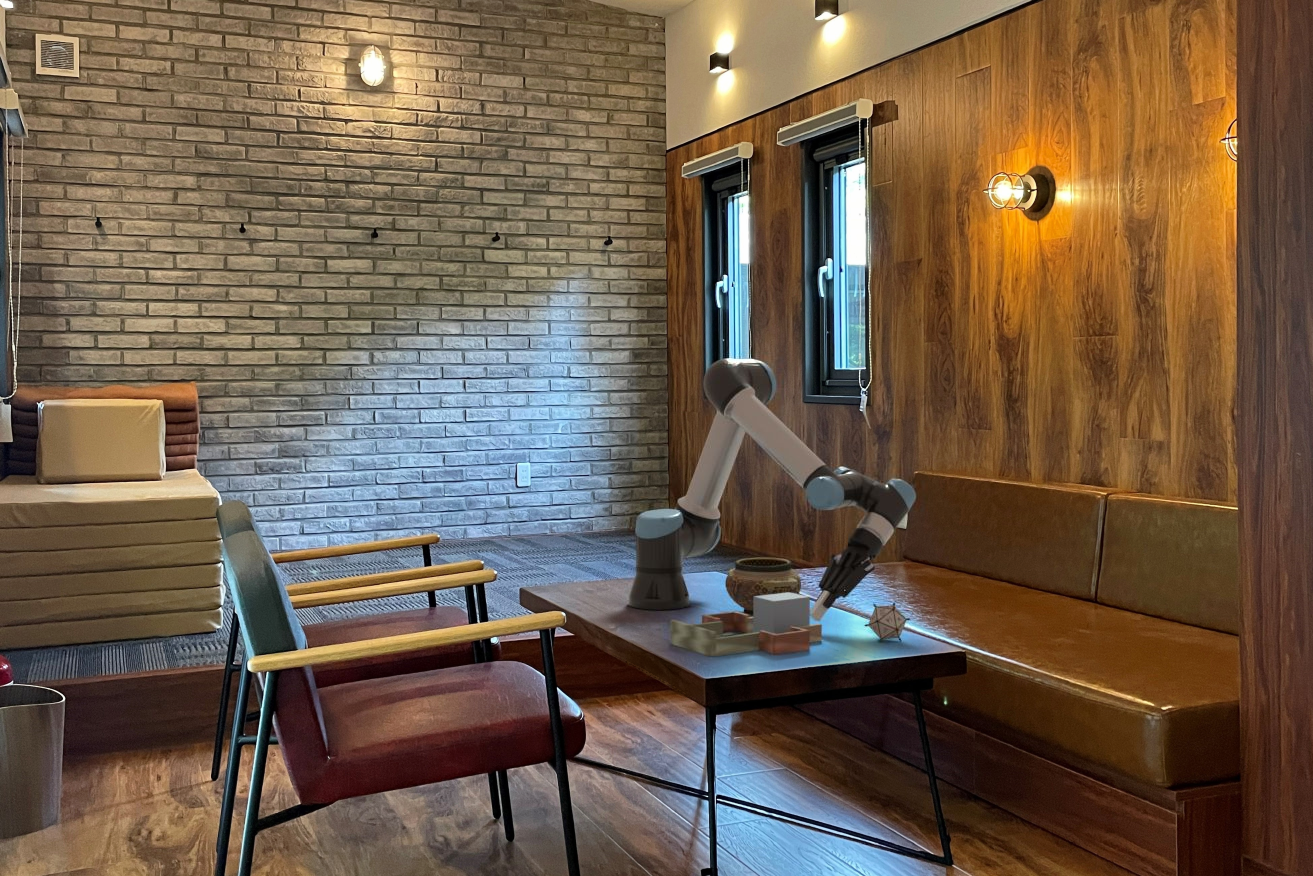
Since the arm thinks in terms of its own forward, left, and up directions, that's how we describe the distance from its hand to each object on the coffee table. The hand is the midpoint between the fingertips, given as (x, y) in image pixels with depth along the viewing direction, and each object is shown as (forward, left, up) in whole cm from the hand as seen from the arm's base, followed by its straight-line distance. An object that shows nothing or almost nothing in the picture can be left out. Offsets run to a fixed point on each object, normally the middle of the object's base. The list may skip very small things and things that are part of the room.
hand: (813, 617), depth 270 cm
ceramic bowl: (-23, +4, -4) cm, 24 cm away
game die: (+15, +8, -4) cm, 17 cm away
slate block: (0, -9, -4) cm, 10 cm away
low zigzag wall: (0, -18, -3) cm, 18 cm away
